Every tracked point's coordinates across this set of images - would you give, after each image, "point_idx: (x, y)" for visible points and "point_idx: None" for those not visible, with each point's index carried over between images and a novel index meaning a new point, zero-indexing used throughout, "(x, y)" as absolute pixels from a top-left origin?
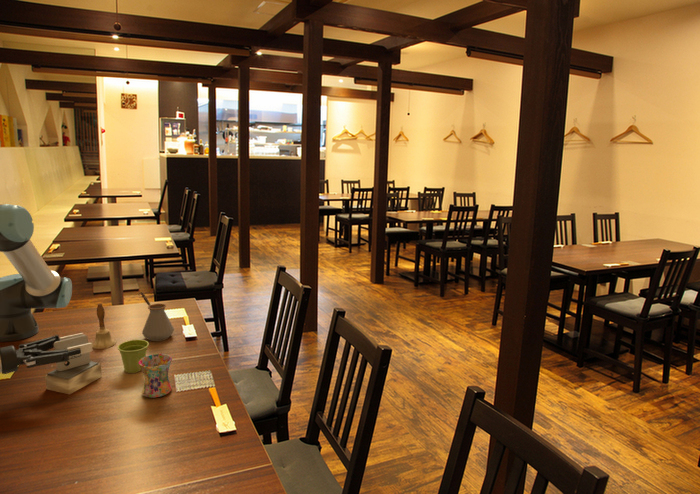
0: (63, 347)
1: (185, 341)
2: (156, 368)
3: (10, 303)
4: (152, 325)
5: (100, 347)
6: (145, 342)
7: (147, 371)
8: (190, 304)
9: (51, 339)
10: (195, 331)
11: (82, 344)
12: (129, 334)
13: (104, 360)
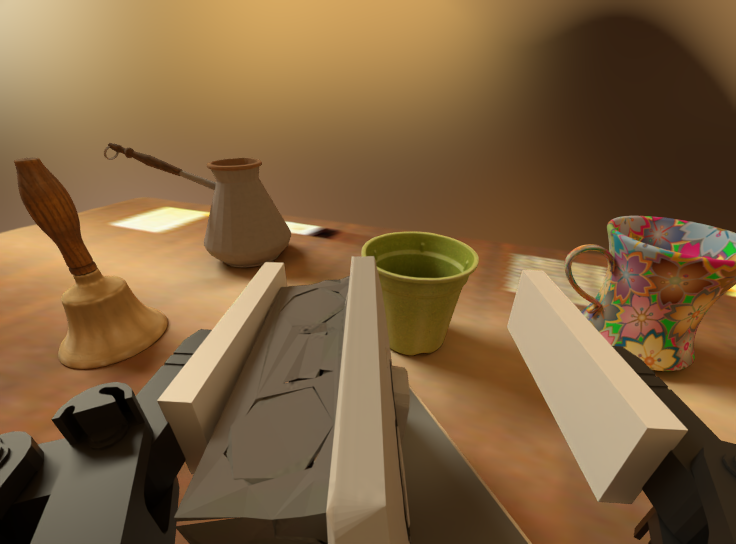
0: (397, 462)
1: (329, 239)
2: None
3: None
4: (256, 218)
5: (134, 348)
6: (405, 237)
7: None
8: (166, 201)
9: (53, 524)
10: (297, 223)
11: (554, 306)
12: (150, 279)
13: None
